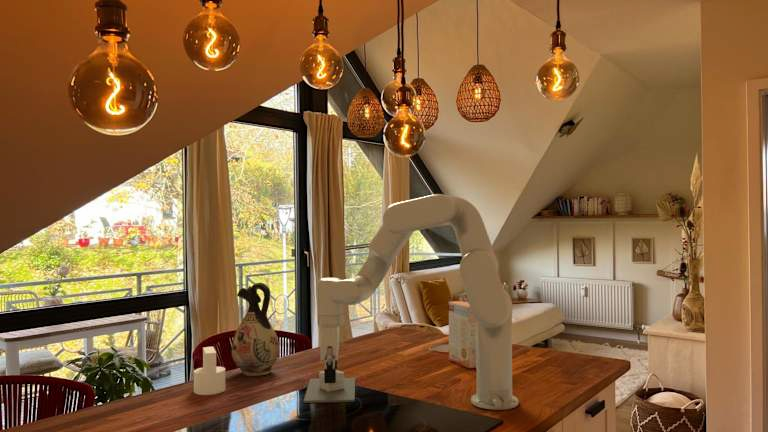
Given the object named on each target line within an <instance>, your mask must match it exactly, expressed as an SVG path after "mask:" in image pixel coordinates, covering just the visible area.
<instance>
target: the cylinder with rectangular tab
mask: <svg viewBox="0 0 768 432" xmlns="http://www.w3.org/2000/svg"><path fill="white" fill-rule="evenodd" d="M225 391H226V368H225V367H224V366H217V352H216V349H215V347H214V346H205V347H202V367H198V368H196V369H194V370H193V393H194V394H196V395H200V396H211V395H217V394H221V393H222V392H225Z"/></svg>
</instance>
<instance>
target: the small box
mask: <svg viewBox="0 0 768 432" xmlns="http://www.w3.org/2000/svg"><path fill="white" fill-rule="evenodd" d="M344 378H345V372H344V371H341V370H339V369H337V370H336V382H335V383H325V382H324V370H321V371H319V372H318V379H319V388H321V389H323V390H325V391H327V392H330V391H335V390H340V389H344Z"/></svg>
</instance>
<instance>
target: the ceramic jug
mask: <svg viewBox="0 0 768 432" xmlns="http://www.w3.org/2000/svg"><path fill="white" fill-rule="evenodd" d="M258 290H261V291H262V292H263V300H262V298H261V297H260V295H259V294H258ZM236 297H238V298H240V299H243V300H244V301H246V302H247V303H248V310H247V311H246V312H245V313H246V314H245V315H244V317H243V318H242V319H241V322H240V323H239V325H238V327H237V328H236V331H235V333H234V336H233V338H232V339H233V340H232V346H231V357H232V360H233V362H234V363H235V365H236V366H237V368H239V369H240V371H241V373H242V375H243V376H246V377H260V376H264V375H265V376H266V375H269V374H270V373H271V372H272V371H273V370H272V367H273V366H274V364H275V363H276V362H277V360H278V358H279V355H280V342H279V338H278V335H277V332H276V331H275V329H274V327H273V325H272V324H271V323H270V321H269V318H268V316H267V315H268V314H267V313H268V310H269V306H270V301H271V290H270V288H269V286H268V285H266V284H265V283H263V282H257V283H256V282H255V283H254V284H253V285H252V286H251V285H249V286H248V287H247V288H245V287H242V288H241V289H240V290H239V291H238V293H237V294H236ZM259 303H262V306H260V304H259ZM260 307H261V308H260Z"/></svg>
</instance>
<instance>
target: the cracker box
mask: <svg viewBox="0 0 768 432" xmlns="http://www.w3.org/2000/svg"><path fill="white" fill-rule="evenodd" d="M476 325H477V321H476V320H475V318H474V316H473V314H472V312H471V309H470V305H469V302H468V301H463V300H454V301H453V300H452V301H448V360H449V361H450V362H454V363H456V364H458V365H460V366H462V367H464V368H467V369H476Z"/></svg>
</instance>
